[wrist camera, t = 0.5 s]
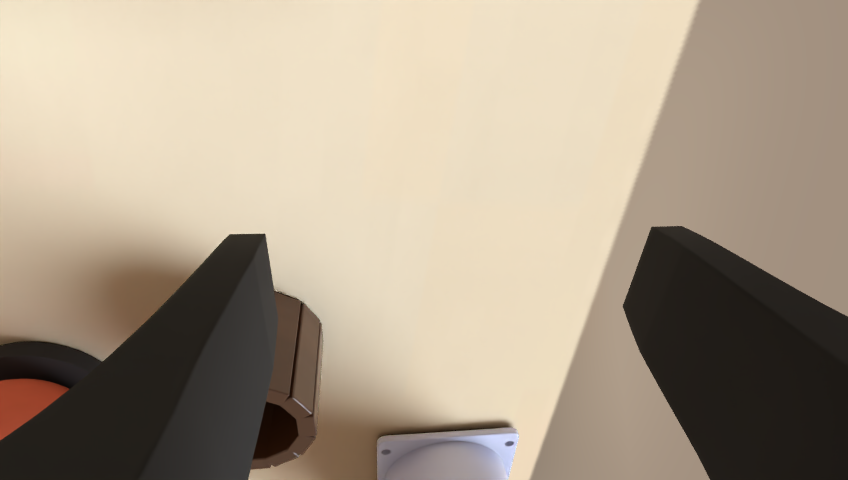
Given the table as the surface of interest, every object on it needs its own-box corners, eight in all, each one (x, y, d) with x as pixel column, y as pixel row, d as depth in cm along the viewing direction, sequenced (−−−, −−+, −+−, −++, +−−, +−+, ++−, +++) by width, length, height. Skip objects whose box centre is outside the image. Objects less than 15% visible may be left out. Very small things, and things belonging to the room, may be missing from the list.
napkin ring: (326, 369, 26) (320, 465, 22) (215, 375, 25) (188, 474, 21) (318, 288, 22) (310, 382, 18) (191, 293, 22) (155, 390, 18)
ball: (150, 429, 27) (91, 592, 21) (2, 438, 26) (-103, 611, 20) (108, 333, 23) (20, 501, 17) (-70, 340, 22) (-227, 519, 16)
